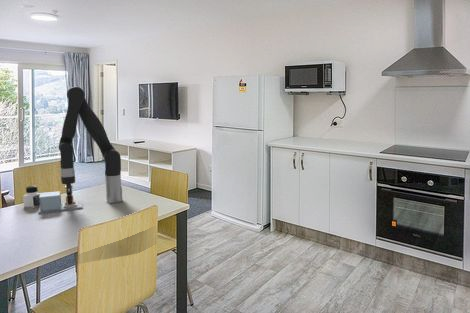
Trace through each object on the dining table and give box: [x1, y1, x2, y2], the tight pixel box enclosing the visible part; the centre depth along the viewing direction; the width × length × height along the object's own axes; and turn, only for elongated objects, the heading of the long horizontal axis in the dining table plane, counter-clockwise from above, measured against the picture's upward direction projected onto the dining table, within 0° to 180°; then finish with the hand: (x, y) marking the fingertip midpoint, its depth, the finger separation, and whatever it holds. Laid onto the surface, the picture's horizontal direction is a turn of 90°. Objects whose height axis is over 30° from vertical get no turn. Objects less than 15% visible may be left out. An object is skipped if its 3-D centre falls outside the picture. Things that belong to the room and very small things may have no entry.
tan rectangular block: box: [65, 194, 75, 205], centre depth 213 cm, size 4×4×6 cm
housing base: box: [37, 201, 83, 215], centre depth 211 cm, size 23×12×2 cm, turn 115°
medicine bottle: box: [22, 185, 41, 208], centre depth 216 cm, size 7×7×12 cm
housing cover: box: [39, 190, 62, 211], centre depth 209 cm, size 10×10×8 cm
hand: (70, 202), depth 213 cm, fingers open, 5 cm apart
